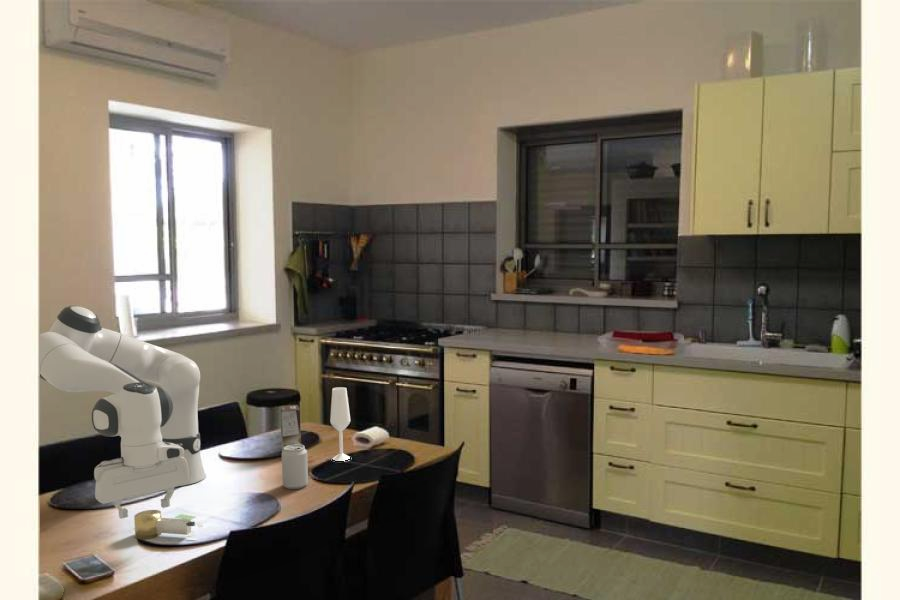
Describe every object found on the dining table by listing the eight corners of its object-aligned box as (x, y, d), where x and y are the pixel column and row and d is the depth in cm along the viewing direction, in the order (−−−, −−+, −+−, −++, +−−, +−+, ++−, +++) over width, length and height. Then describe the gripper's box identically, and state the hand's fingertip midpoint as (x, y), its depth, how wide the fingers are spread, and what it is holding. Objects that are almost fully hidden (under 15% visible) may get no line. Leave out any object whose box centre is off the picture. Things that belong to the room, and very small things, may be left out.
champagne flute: (337, 455, 238) (335, 386, 237) (355, 457, 236) (353, 387, 234) (327, 460, 232) (325, 390, 230) (345, 462, 230) (343, 391, 228)
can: (302, 490, 203) (300, 450, 202) (278, 489, 204) (276, 449, 204) (312, 482, 210) (310, 443, 209) (289, 481, 212) (287, 442, 211)
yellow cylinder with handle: (129, 538, 167) (128, 518, 166) (145, 528, 173) (144, 509, 172) (187, 542, 164) (186, 522, 163) (201, 532, 170) (200, 512, 169)
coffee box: (301, 455, 238) (300, 409, 237) (282, 457, 237) (281, 411, 235) (299, 448, 247) (298, 404, 246) (281, 450, 245) (279, 405, 244)
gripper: (98, 466, 151) (101, 528, 152) (190, 447, 165) (192, 504, 166) (89, 460, 155) (92, 520, 156) (180, 442, 169) (182, 497, 170)
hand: (144, 512), depth 161 cm, fingers open, 8 cm apart
